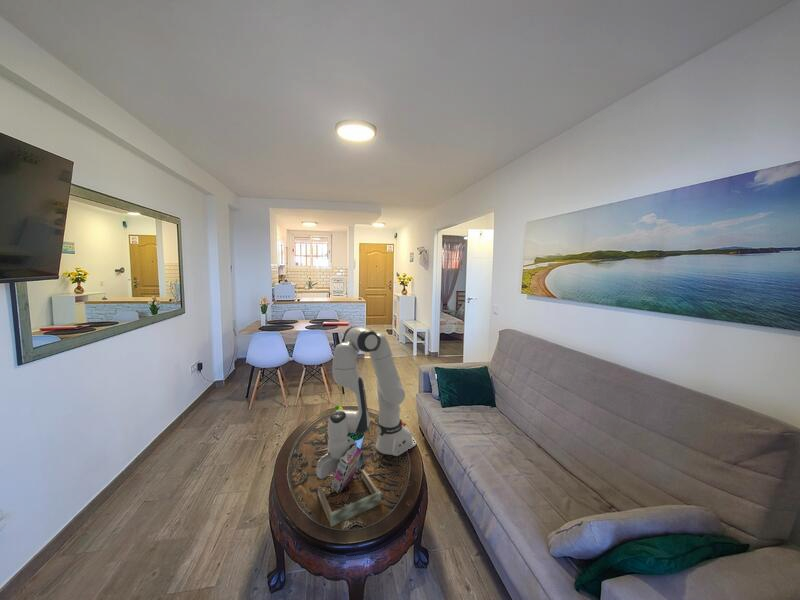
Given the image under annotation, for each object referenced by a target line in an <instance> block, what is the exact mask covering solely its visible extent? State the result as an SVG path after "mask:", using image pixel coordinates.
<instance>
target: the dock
mask: <svg viewBox="0 0 800 600" xmlns="http://www.w3.org/2000/svg"><path fill="white" fill-rule="evenodd" d="M360 476H361V477H360V478H361V480H362V481H363V483H364V485H365V486H366V487H367V489H368V490H369V493H370V494H369V495H367V496H365V497H363V498H361V499H358V500H356V501H354V502H352V503H349V504H347V505H344V506H343V507H340V508H338V509H336V510H334V511H333V510H332V508H331V506H330V503H329V502H328V499H327V497H326V494H325V493H324V490H323V488H322V486H318V487H317V497H318V499H319V501H320V504H321V506H322V508H323V511H324V513H325V515H326V518H327V520H328V522H329V525H330V527H335V526H337V525H338V524H340V523H343V522H345V521H347V520H349V519H352V518H354V517H356V516H358V515H360V514H361V513H364V512H366V511H369V510H370V509H373V508H374V507H377V506H379V505H381V504H382V492H381V490H379V489H378V488H377V487H376V485H375V484H374V482H373V480H372V479H371V478H370V476H369V474H368V472H367V471H366V470H365V469H361V475H360Z"/></svg>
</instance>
